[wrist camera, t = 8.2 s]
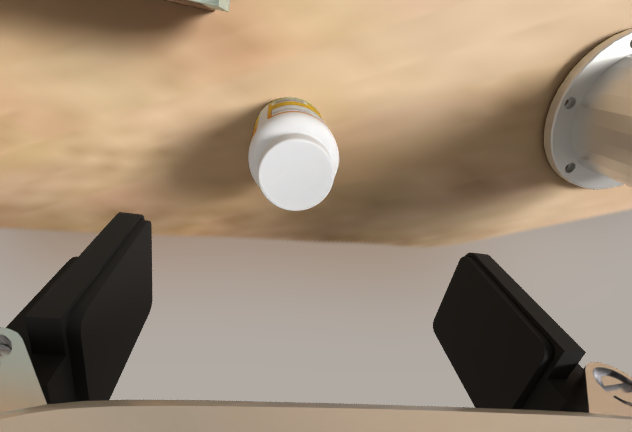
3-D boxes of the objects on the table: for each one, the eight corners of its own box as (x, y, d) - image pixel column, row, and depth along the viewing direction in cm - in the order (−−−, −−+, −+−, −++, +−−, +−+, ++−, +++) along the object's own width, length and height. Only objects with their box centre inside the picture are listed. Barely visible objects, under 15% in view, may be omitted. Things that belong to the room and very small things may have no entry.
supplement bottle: (288, 180, 28) (294, 241, 20) (238, 131, 26) (220, 175, 18) (339, 135, 27) (368, 179, 19) (291, 79, 25) (299, 100, 16)
